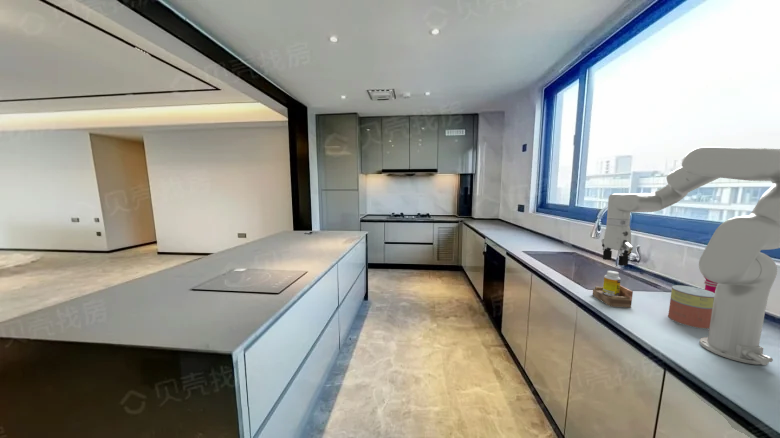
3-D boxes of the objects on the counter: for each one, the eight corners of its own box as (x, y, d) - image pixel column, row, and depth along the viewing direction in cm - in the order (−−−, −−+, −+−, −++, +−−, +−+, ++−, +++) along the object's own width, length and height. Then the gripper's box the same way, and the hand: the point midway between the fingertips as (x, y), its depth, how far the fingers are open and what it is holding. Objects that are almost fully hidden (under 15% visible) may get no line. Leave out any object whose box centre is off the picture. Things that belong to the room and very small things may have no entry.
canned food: (722, 331, 95) (727, 298, 94) (683, 327, 98) (688, 295, 96) (694, 316, 106) (698, 286, 105) (660, 313, 108) (663, 284, 107)
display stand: (630, 307, 113) (632, 291, 112) (610, 306, 114) (611, 290, 113) (611, 296, 125) (612, 281, 124) (592, 295, 126) (593, 280, 125)
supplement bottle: (617, 298, 115) (620, 274, 114) (601, 294, 119) (603, 271, 118) (619, 294, 119) (622, 272, 118) (603, 291, 123) (605, 269, 122)
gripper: (643, 225, 107) (639, 268, 108) (613, 220, 124) (610, 257, 125) (622, 225, 107) (619, 267, 109) (595, 220, 125) (592, 257, 126)
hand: (614, 262), depth 117 cm, fingers open, 9 cm apart
